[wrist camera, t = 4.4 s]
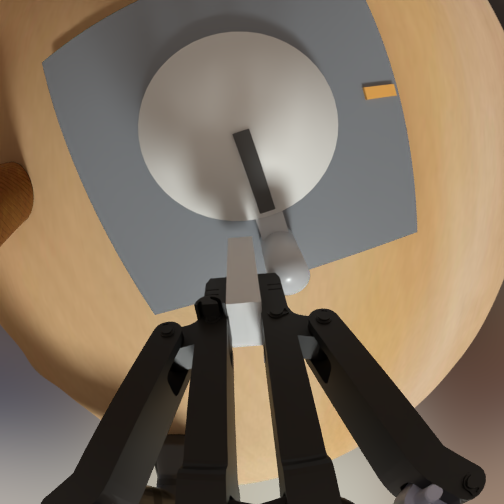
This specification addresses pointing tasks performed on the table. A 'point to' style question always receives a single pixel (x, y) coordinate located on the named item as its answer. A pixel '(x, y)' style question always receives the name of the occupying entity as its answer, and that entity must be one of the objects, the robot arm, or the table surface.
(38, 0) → the table surface
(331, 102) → the dial
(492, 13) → the table surface
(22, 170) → the disposable coffee cup
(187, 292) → the panel
